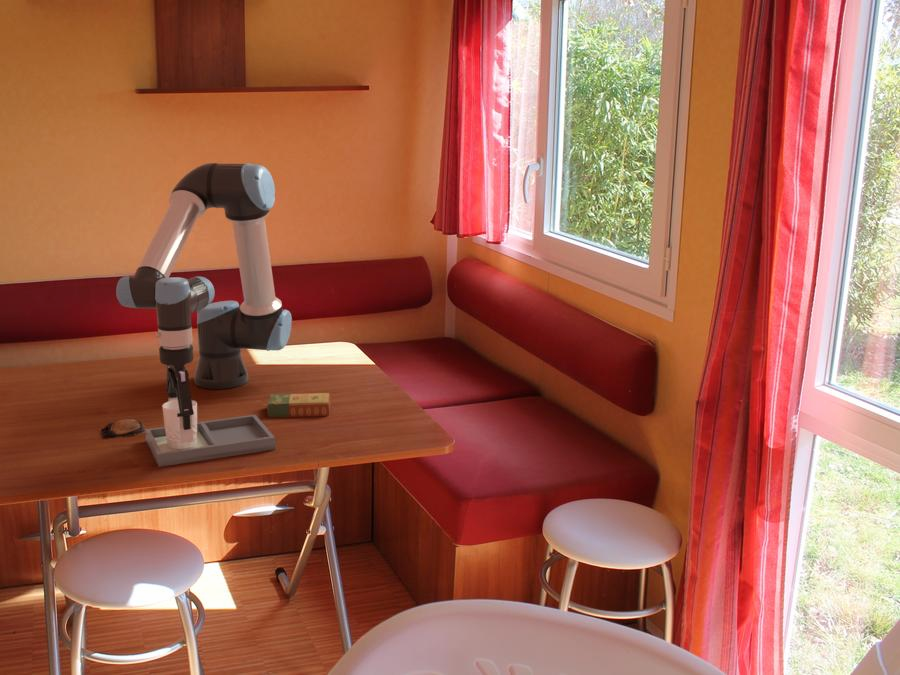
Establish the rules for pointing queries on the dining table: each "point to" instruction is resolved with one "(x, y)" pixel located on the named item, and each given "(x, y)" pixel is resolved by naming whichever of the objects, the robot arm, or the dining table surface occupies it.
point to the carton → (299, 405)
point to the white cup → (177, 425)
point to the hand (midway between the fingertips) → (181, 432)
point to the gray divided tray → (213, 441)
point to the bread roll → (123, 429)
